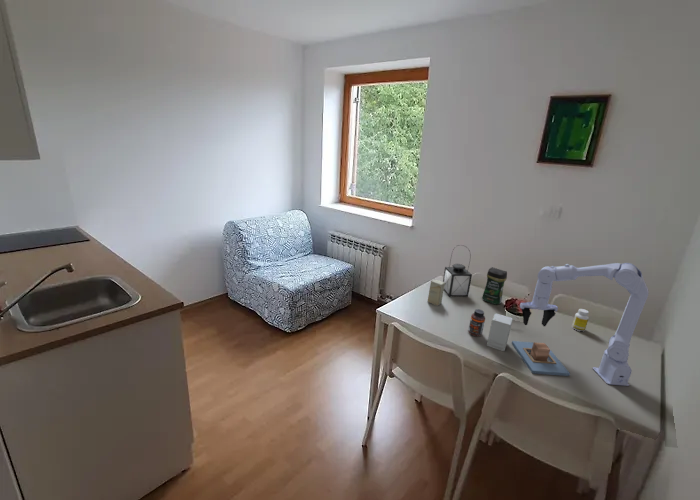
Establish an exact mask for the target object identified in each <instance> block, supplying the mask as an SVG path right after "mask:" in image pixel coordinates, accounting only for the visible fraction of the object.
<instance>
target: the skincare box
mask: <svg viewBox="0 0 700 500" xmlns="http://www.w3.org/2000/svg"><path fill="white" fill-rule="evenodd" d="M444 286H445V282H443V280H439V279H436V278H434V279H431V280H430V285H429V291H428V297H427V303H430V304H432V305H434V306H437V307H438V306H440V305H441V304H442V302H443V296H444V292H445V291H444Z"/></svg>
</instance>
